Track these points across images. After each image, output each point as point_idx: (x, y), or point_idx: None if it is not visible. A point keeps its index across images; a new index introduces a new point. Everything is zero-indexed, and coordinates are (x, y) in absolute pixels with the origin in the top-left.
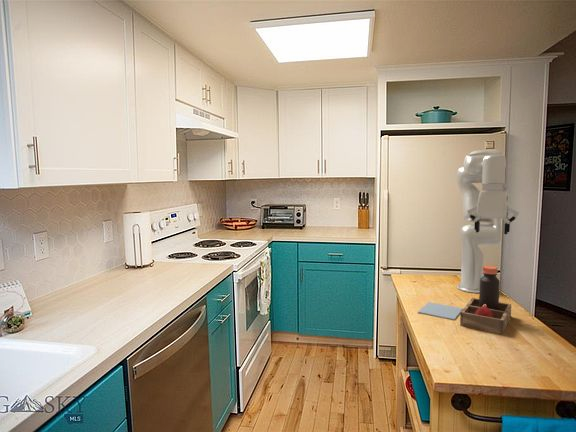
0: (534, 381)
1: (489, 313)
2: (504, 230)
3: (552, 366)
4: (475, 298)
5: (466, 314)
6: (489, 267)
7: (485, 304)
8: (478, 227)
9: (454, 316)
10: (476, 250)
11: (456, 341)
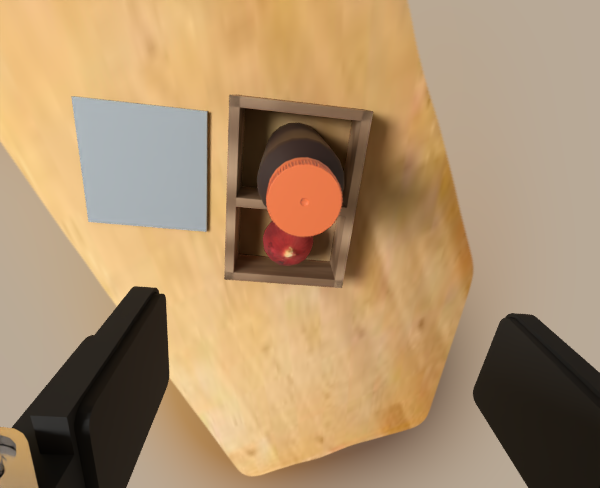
0: (377, 425)
1: (304, 259)
2: (496, 436)
3: (415, 370)
4: (242, 98)
5: (242, 279)
6: (301, 207)
7: (291, 254)
8: (144, 415)
9: (201, 210)
10: None
11: (242, 351)
